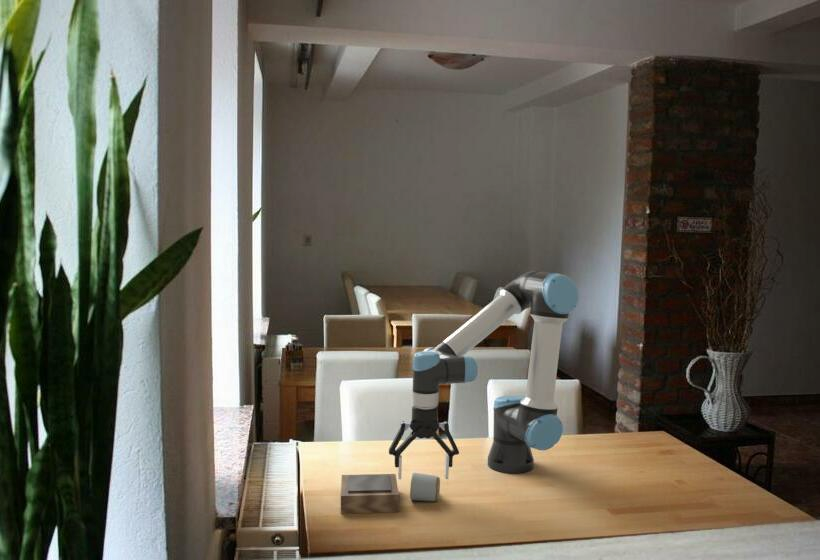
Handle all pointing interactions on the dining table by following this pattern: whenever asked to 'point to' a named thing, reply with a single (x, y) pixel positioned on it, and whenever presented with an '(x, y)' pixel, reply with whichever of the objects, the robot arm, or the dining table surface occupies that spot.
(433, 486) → the ceramic mug
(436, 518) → the dining table surface
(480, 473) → the dining table surface
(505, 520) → the dining table surface
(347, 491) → the walnut base
